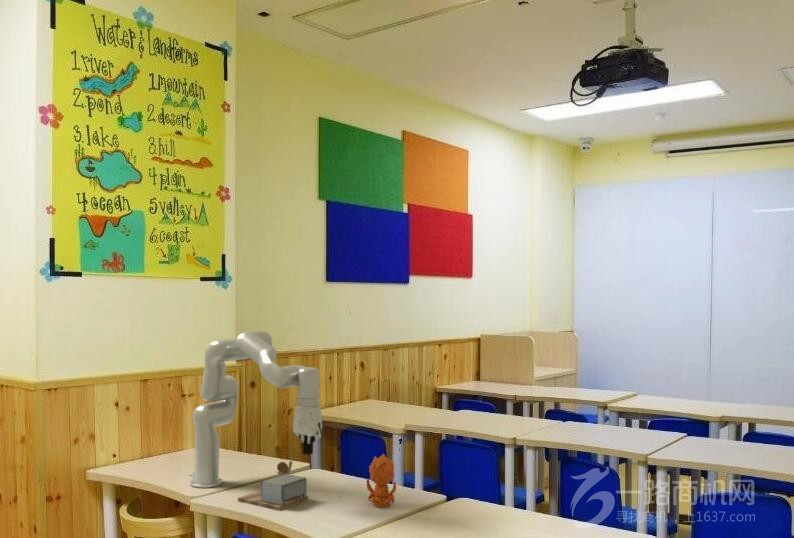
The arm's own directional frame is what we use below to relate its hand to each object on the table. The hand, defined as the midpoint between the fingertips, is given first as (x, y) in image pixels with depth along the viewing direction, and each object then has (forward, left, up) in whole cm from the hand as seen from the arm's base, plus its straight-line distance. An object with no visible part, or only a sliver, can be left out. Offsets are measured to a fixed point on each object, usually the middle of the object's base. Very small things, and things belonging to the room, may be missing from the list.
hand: (307, 453), depth 262 cm
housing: (-11, 0, -18) cm, 21 cm away
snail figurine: (-23, +14, -19) cm, 33 cm away
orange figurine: (+20, +18, -19) cm, 33 cm away
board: (-16, 0, -19) cm, 25 cm away
